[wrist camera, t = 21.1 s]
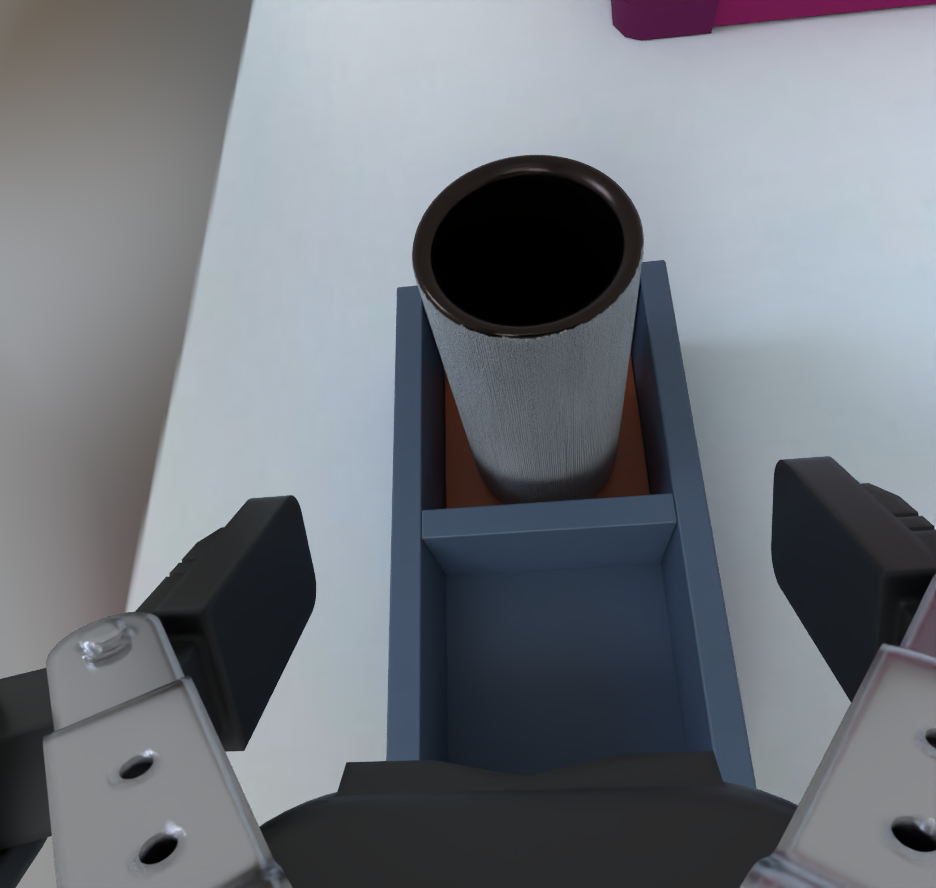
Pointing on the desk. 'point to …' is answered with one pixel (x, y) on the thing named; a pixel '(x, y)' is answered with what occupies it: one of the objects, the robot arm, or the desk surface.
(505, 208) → the planter
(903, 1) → the book
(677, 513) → the sorter
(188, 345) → the desk surface
